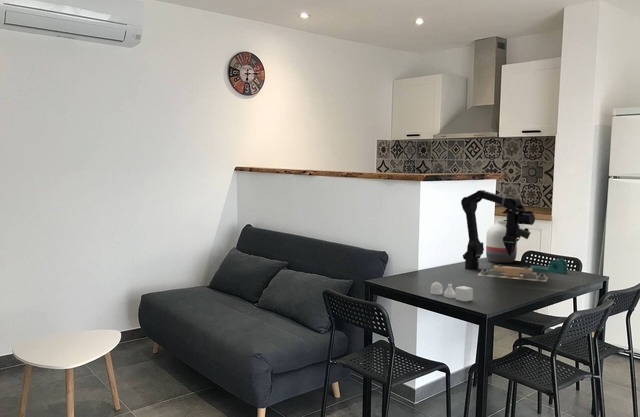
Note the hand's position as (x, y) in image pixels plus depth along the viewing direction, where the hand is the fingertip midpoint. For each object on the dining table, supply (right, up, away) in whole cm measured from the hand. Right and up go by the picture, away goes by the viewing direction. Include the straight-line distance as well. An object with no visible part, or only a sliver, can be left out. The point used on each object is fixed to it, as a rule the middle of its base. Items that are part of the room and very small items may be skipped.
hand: (511, 254), depth 264 cm
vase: (+10, -9, +44) cm, 46 cm away
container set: (-40, -15, -39) cm, 58 cm away
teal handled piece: (+24, -11, +14) cm, 30 cm away
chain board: (0, -12, -1) cm, 12 cm away
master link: (0, -11, -1) cm, 10 cm away
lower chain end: (-9, -10, +4) cm, 14 cm away
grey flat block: (+9, -11, -6) cm, 16 cm away
